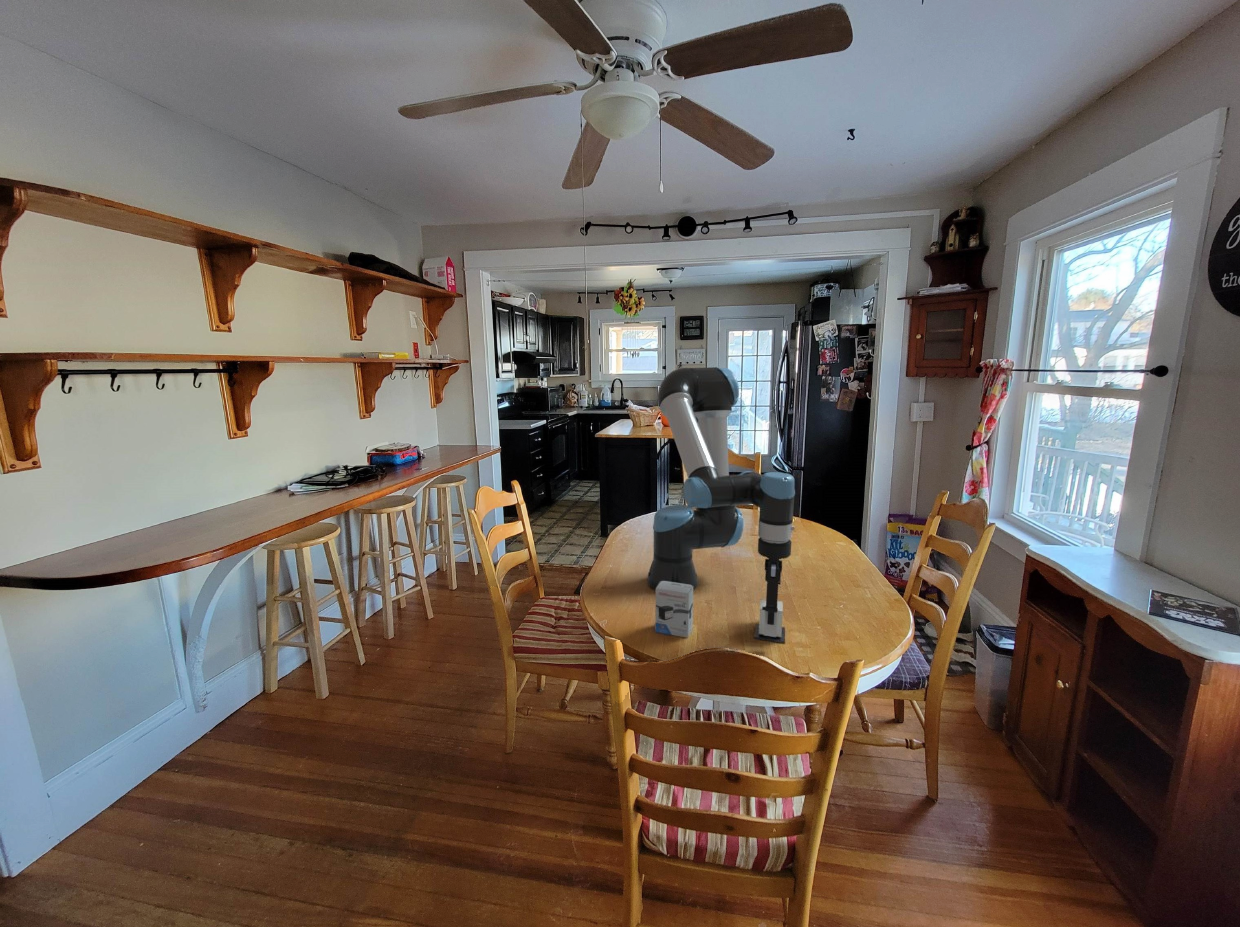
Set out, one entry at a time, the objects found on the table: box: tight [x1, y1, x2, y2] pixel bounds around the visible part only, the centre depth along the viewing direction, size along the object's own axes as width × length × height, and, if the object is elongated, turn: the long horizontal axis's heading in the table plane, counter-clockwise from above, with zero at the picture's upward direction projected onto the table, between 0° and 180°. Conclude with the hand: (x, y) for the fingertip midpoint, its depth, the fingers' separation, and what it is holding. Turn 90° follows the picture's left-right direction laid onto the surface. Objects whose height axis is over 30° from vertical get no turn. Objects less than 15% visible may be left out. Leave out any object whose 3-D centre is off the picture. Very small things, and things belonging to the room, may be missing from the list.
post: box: [753, 622, 786, 644], centre depth 124 cm, size 7×7×7 cm
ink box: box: [654, 581, 694, 638], centre depth 125 cm, size 8×5×12 cm, turn 69°
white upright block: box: [758, 598, 784, 637], centre depth 124 cm, size 5×5×7 cm
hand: (770, 621), depth 124 cm, fingers open, 13 cm apart
